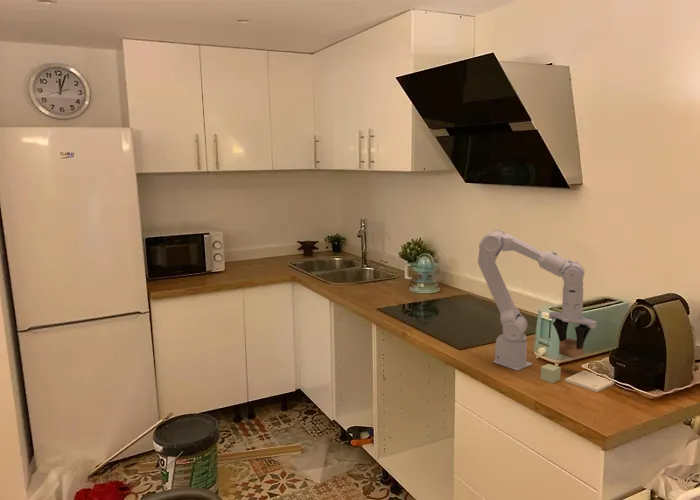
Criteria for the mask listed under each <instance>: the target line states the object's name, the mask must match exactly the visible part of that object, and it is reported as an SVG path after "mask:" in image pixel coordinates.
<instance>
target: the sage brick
mask: <svg viewBox="0 0 700 500" xmlns="http://www.w3.org/2000/svg"><path fill="white" fill-rule="evenodd" d="M561 370H562V369H561V366H557V365H554V364H551V363H546V364H545V365H542V366H540V380H542V381H545V382H548V383H551V384H555V383H556V382H558V381H561V374H562V373H561V372H562V371H561Z"/></svg>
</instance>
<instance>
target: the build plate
mask: <svg viewBox="0 0 700 500" xmlns="http://www.w3.org/2000/svg"><path fill="white" fill-rule="evenodd" d="M596 374H597V373H592V372H590V371H587V370H582V371H579V372H578V373H574V374H573V375H570V376H569V377H566V378H564V382H565V383H569V384H572V385H575V386H577V387H580V388H584V389H586V390H590V391H592V392H595V393H599V392H600V391H603V390H605V389H607V388H608V387H611V386H612V385H615V384H614V383H613V382H612V381H609V380H608V379H606V378H607V377H606V378H603V377H604V376H603V377H600V376H601V375H600V376H597V375H598V374H597V375H596Z"/></svg>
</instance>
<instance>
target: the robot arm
mask: <svg viewBox="0 0 700 500" xmlns="http://www.w3.org/2000/svg"><path fill="white" fill-rule="evenodd" d="M478 247H479V248H478V251H479V252H478V258H477V264H478V267H479V269H480V271H481V273H482V276H483V278H484V281H485V282H486V284H487V286H488V289H489V291H490V294H491V295H492V298H493V300H494V302H495V305H496V307H497V309H498V311H499V314H500V324H501V326H502V329H501V330H502V334H499V336H498V337H496V339H495V345H494V346H495V347H494V355H495V357H494V360H493V363H494V364H498V365H501V366H503V367H505V368H509V369H512V370H514V371H519V370H522V369H525V368H527V367H530V366H532V365H533V363H532V362H530V361H527V352H528V351H527V348H528V345H527V344H528V337H527V335H526V333H525V332H526V331H527V329H528V327H529V325H528V324H529V323H528V321H527V318H526V317H524V315H522V313H521V312H520V309H518V308H517V307H516V306H515V303H514V301H513V298H512V297H511V295H510V293H509V290H508V287H507V285H506V284H505V282H504V279H503V277H502V275H501V272H500V270H499V267H498V266H497V263H496V260H497V258H498V257H499V255H500V253H501V252H509V251H510V252H511V251H514V252H516V253H519V254H521V255H523V256H525V257H527V258H530V259H531V260H534V261H536V262H537V263H538V266H539V268H541V269H542V270H545V271H547V272H548V273H551V274H553V275H554V276H557V277H558V278H562V281H563V287H562V303H561V305H562V307H561V309H562V310H561V312H557V311H551V312H549V313H548V319H550V320H554V321H553V322H552V325H553V327H554V329H555V330H556V334H557V337H558V340H559V342H560V341H563V340H565V339H567V336H568V335H567V331H568V326H569V323H570V324H573V325H577V326H575V327H574V329H575V335H576V340H577V349H581V348H583V349H584V346H583V344H584V345H585V340H586V338H587V336H588V334H589V332H590V331H591V330H592V329H596V328H597V322H598V321H596V320H593V319H590V318H587V317H584V316H583V310H584V307H583V306H584V277H585V269H584V266H582V265H581V264H580V263H579V262H577V261H573V260H572V259H570V258H569V259H566V258H564V257H562V256H561V255H559V254H558V252H557V251H555V250H552V251H551V250H547V251H541V250H539V248H536V247H533V245H531V244H529V243H527V242H525V241H523V240H521V239H520V238H518V237H516V236H514V235H512V234H510V233H507V232H504V231H503V230H500V229H495V230H493V231H491V232H490V233H487V234H485V235H484V236H483V237H482V239H481V241H480V243H479V245H478Z"/></svg>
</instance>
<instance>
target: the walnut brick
mask: <svg viewBox="0 0 700 500" xmlns="http://www.w3.org/2000/svg"><path fill="white" fill-rule="evenodd" d="M584 345H585V343H584V344H583V348H581V349H577V339H574V338H570V337H569V338H568V337H567V338H566V339H565V340H563V341H559V348H558V354H559V355H562V356H565V357H568V358H571V359H576V358H579V357H581V356H583V355H584V347H585V346H584Z"/></svg>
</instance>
